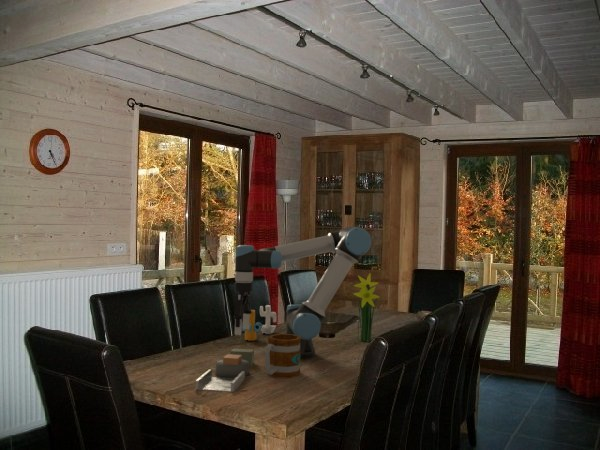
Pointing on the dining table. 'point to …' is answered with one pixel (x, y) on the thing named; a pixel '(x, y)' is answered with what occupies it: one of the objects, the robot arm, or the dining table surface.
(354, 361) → the dining table surface
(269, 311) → the figurine
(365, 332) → the daffodil flowers
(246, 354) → the olive green block
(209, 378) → the bracket
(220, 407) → the dining table surface
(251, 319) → the orange knobbed block
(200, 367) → the dining table surface
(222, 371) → the grey block tan top
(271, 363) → the mug
